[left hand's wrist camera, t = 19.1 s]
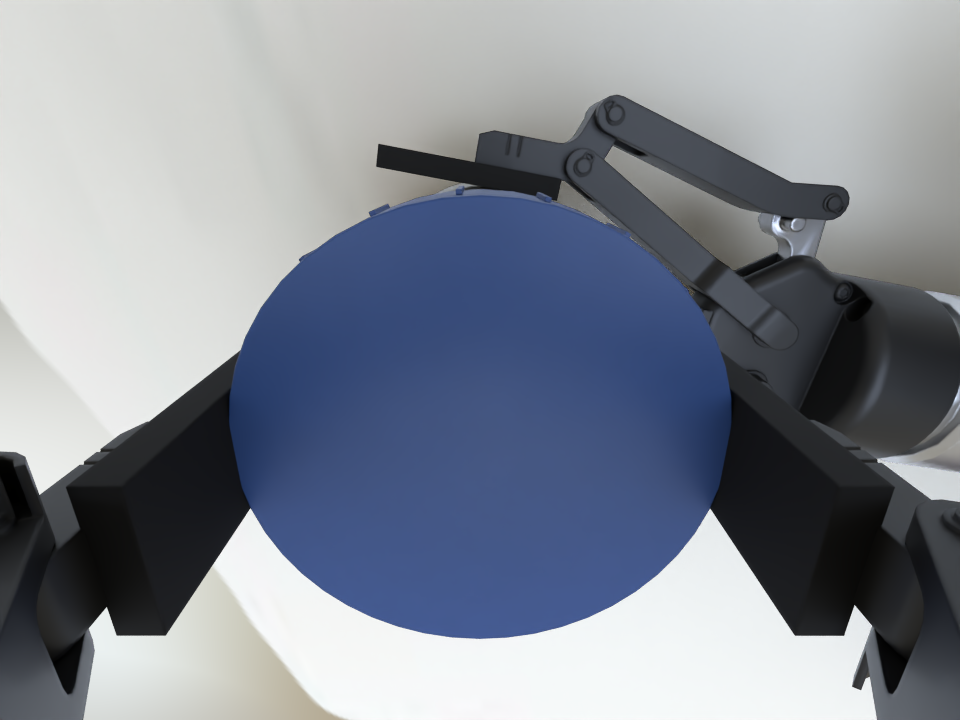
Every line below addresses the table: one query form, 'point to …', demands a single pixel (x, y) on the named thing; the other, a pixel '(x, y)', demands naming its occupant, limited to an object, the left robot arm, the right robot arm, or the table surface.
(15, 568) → the left robot arm
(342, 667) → the table surface
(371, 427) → the lid
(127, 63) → the table surface
